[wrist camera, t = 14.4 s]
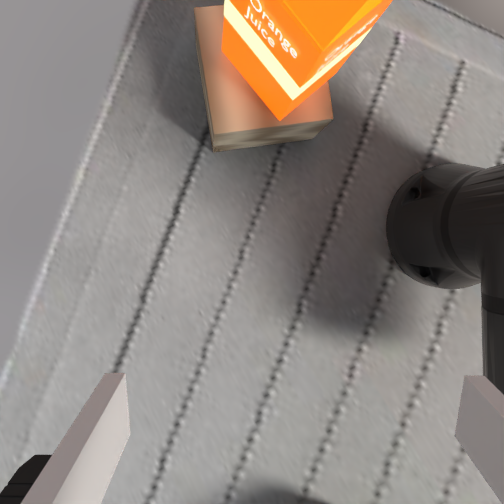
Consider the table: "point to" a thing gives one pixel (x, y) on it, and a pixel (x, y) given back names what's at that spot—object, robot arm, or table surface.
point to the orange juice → (294, 43)
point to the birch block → (247, 97)
